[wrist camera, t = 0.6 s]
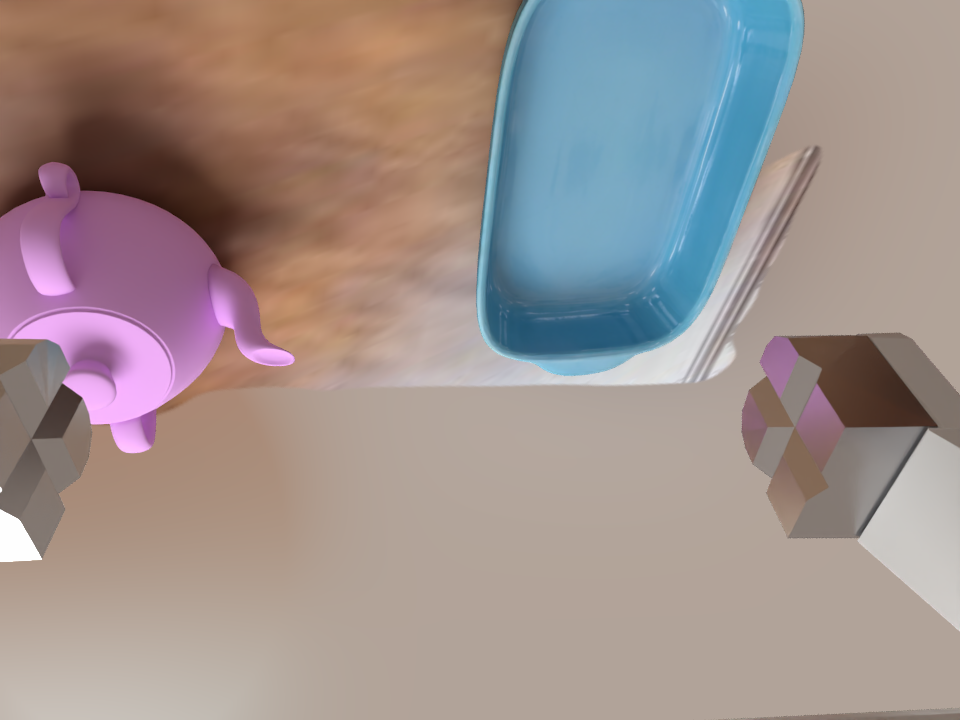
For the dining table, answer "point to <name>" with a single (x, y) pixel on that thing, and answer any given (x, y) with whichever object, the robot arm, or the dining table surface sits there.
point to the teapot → (121, 300)
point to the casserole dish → (623, 169)
